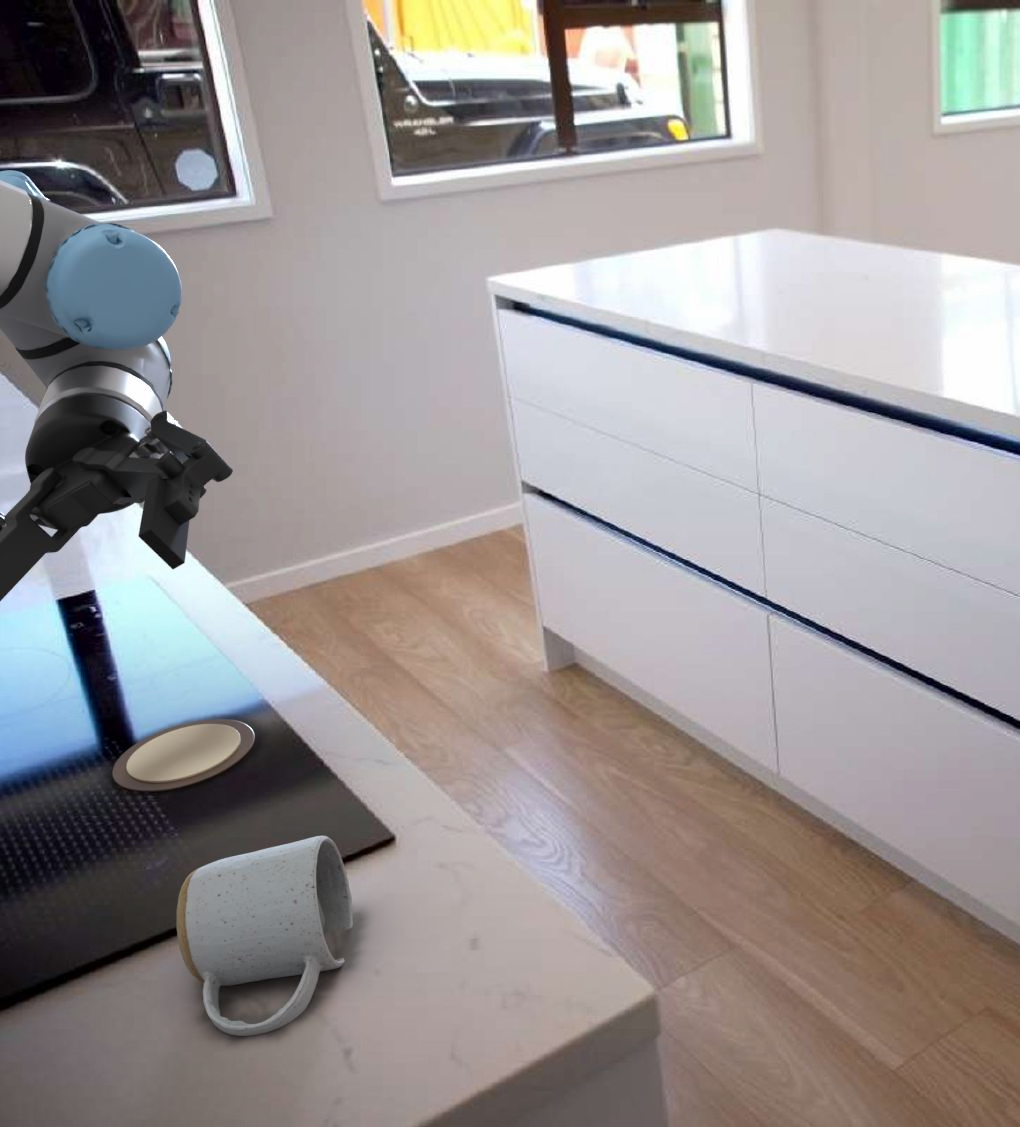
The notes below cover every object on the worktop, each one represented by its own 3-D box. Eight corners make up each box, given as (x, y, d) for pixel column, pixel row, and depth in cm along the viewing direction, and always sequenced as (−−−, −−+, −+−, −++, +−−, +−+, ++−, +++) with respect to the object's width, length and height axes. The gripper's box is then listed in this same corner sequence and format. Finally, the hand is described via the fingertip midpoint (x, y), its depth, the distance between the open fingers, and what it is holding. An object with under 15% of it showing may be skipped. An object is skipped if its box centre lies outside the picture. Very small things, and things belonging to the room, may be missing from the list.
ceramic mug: (222, 934, 80) (188, 834, 76) (359, 909, 81) (332, 810, 78) (182, 1062, 70) (142, 955, 67) (338, 1031, 72) (306, 924, 69)
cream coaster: (87, 801, 94) (83, 790, 94) (157, 729, 103) (154, 719, 103) (220, 797, 94) (216, 786, 93) (278, 725, 103) (275, 715, 103)
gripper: (292, 391, 90) (294, 544, 74) (-21, 571, 90) (-89, 767, 73) (219, 305, 86) (204, 448, 69) (-111, 494, 85) (-207, 685, 68)
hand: (53, 612), depth 71 cm, fingers open, 13 cm apart
